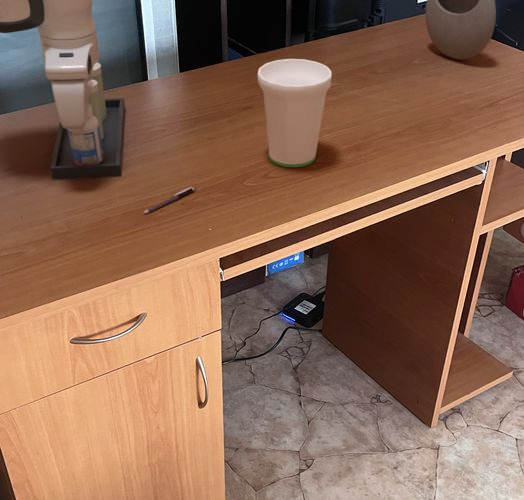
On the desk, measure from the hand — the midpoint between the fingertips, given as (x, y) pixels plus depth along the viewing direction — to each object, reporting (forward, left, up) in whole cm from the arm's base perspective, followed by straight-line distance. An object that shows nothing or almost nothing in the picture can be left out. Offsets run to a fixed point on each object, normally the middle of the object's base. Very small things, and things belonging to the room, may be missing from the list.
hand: (81, 131), depth 134 cm
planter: (+79, +44, -6) cm, 91 cm away
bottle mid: (0, +9, -5) cm, 10 cm away
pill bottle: (0, 0, -6) cm, 6 cm away
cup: (+36, -1, -6) cm, 37 cm away
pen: (+14, -15, -6) cm, 22 cm away
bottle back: (0, +18, -6) cm, 19 cm away
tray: (0, +9, -6) cm, 11 cm away
